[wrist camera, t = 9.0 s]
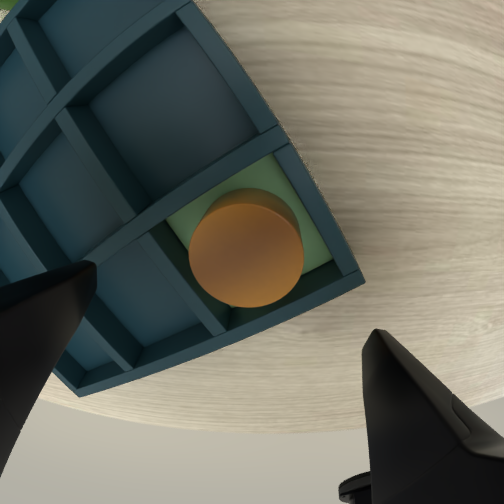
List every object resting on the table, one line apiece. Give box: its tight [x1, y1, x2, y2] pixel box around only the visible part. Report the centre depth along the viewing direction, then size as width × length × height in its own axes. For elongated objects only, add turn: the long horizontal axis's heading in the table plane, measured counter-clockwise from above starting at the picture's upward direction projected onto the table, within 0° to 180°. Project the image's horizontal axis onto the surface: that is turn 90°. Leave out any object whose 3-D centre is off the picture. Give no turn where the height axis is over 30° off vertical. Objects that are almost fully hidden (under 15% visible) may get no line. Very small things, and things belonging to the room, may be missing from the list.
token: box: [188, 188, 304, 308], centre depth 14 cm, size 5×5×2 cm
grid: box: [0, 0, 366, 398], centre depth 14 cm, size 21×21×3 cm
